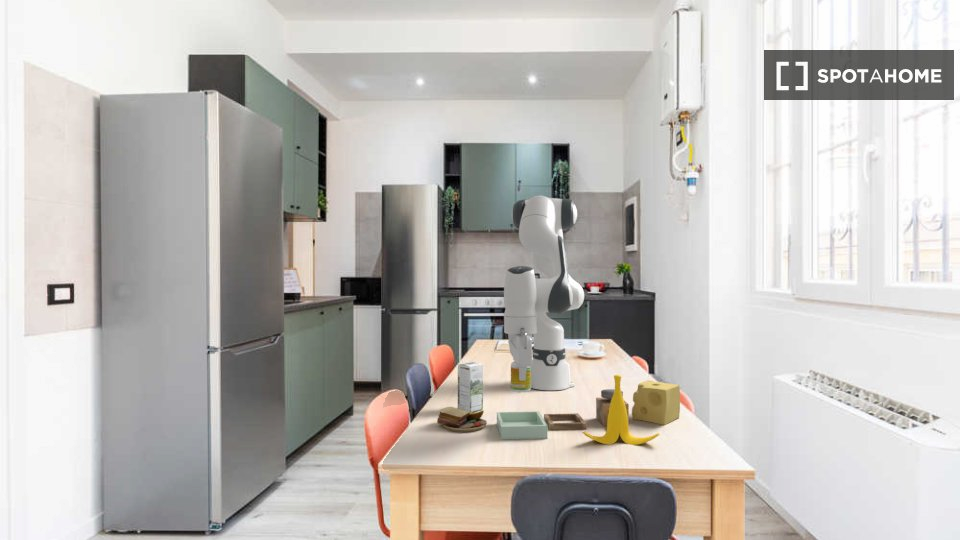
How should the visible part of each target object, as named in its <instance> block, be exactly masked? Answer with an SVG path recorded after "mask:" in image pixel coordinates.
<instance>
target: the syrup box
mask: <svg viewBox="0 0 960 540" xmlns="http://www.w3.org/2000/svg"><path fill="white" fill-rule="evenodd" d="M483 408H484V365H483V364H482V363H479V362H475V361H469V362H463V363H459V364H457V409H462V410H465V411H469V412H471V413H476V412H480V411H484V410H483Z"/></svg>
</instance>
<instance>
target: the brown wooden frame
mask: <svg viewBox="0 0 960 540" xmlns="http://www.w3.org/2000/svg"><path fill="white" fill-rule="evenodd" d="M543 419H544V421H545V423H546V424H547V428H548V429H549V430H550V431H564V430H565V431H567V430H568V431H569V430H572V431H573V430H574V431H575V430H587V429H588V428H587V425H588V424H587V422H586V421H585V420H584V419H583V418H582V416H581V415H580V414H579V413H578V412H577V413H576V412H575V413H543ZM553 421H576V422H553Z"/></svg>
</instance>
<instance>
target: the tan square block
mask: <svg viewBox="0 0 960 540" xmlns="http://www.w3.org/2000/svg"><path fill="white" fill-rule="evenodd" d="M614 390H615V388H614V389H613V388H612V389H611V388H610V389H609V388H608V389H607V388H606V389H603V390H601V391H600V393H601V395H600V397H595V408H596V410H595V413H596V415H595V418H596V419H597V421H598V422H599V423H600V424H601V425H603V427H607V419H608V411H609V407H610V403H611V400H612V397H613V394H614ZM621 394H622V397H623V395H624V392H623V391H622V390H621ZM623 398H624V397H623ZM624 403H625V406H626V411H627V416H628V426H630V424H629V423H630V422H629V421H630V420H629V418H630V415H629V414H630V413H629V411H630V410H629V407H630V406H629V403H627V401H625V400H624Z"/></svg>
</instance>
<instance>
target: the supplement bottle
mask: <svg viewBox="0 0 960 540" xmlns="http://www.w3.org/2000/svg"><path fill="white" fill-rule="evenodd" d="M512 359H513V362H511V363H510V390H511V391H512V392H516V393H527V392H530V391H531V389H532V388H531V366H530V367H527V372H526V380H525V381H520V380H519V366H518V364H517V363H516V361H515V359H514V354H513V357H512Z"/></svg>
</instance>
